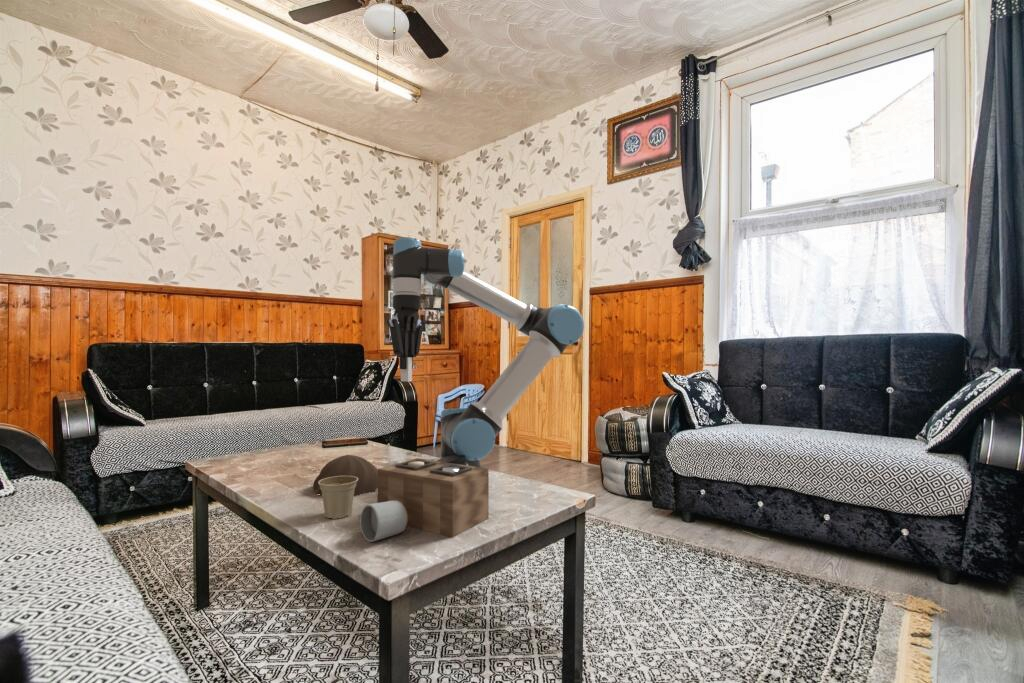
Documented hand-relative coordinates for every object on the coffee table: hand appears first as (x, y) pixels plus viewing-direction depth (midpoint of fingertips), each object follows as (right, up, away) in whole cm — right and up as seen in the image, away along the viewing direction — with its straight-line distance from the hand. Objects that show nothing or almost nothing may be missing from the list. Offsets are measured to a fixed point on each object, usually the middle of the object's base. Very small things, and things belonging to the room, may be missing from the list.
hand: (406, 381), depth 131 cm
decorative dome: (-20, -33, +12) cm, 41 cm away
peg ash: (+5, -30, -12) cm, 33 cm away
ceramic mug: (0, -32, -25) cm, 41 cm away
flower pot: (-14, -32, -12) cm, 37 cm away
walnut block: (+10, -32, -15) cm, 37 cm away
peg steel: (+14, -30, -18) cm, 38 cm away
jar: (+15, -32, -3) cm, 36 cm away
